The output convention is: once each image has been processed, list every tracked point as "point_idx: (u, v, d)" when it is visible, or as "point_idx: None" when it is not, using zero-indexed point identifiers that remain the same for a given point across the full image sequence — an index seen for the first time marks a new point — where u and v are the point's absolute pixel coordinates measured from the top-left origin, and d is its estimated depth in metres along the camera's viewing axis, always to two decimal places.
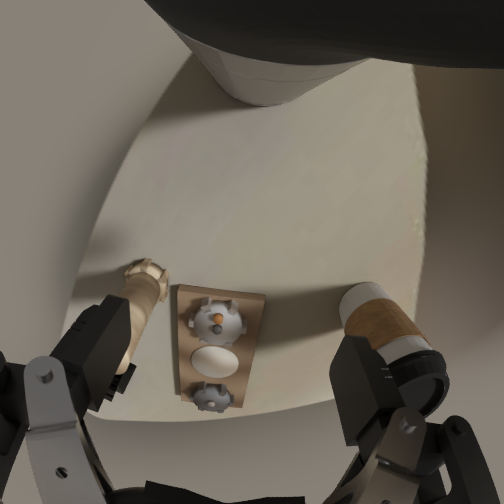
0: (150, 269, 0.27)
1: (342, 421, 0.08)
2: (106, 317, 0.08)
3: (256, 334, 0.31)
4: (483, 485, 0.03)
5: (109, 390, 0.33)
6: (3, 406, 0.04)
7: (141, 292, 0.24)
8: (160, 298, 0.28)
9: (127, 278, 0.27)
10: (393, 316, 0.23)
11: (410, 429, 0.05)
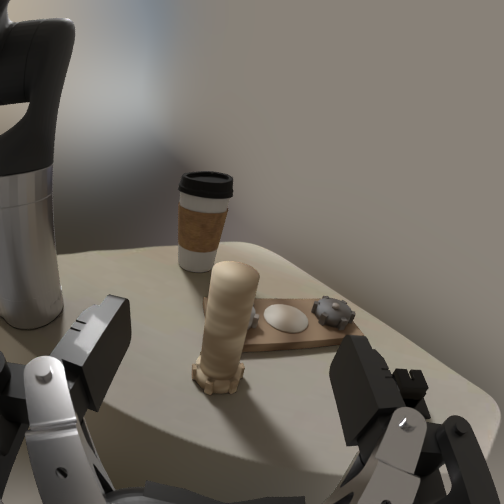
0: (196, 362, 0.26)
1: (342, 421, 0.08)
2: (106, 317, 0.08)
3: None
4: (483, 485, 0.03)
5: (401, 374, 0.24)
6: (3, 406, 0.04)
7: None
8: None
9: (214, 382, 0.24)
10: (178, 223, 0.43)
11: (410, 429, 0.05)
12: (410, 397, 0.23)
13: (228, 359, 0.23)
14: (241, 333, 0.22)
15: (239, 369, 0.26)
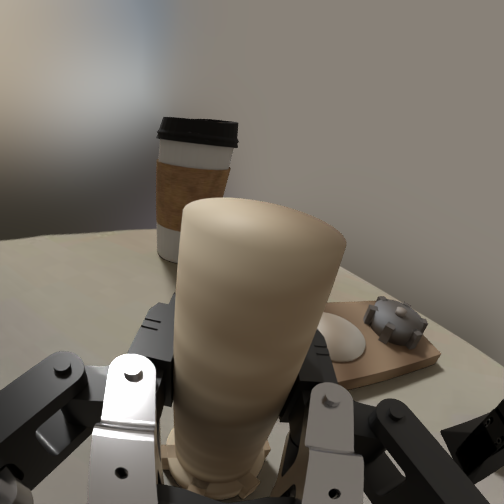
0: (167, 440, 0.10)
1: None
2: None
3: None
4: (441, 466, 0.04)
5: None
6: (68, 411, 0.05)
7: None
8: None
9: (207, 487, 0.08)
10: (156, 189, 0.27)
11: (330, 405, 0.06)
12: None
13: (238, 459, 0.08)
14: (278, 407, 0.07)
15: (260, 453, 0.10)
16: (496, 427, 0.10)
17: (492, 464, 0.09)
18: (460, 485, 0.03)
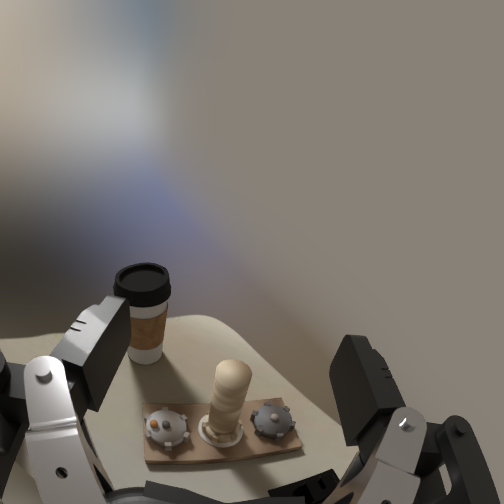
0: None
1: (342, 421, 0.08)
2: (106, 317, 0.08)
3: (176, 405, 0.33)
4: (483, 485, 0.03)
5: (310, 487, 0.22)
6: (3, 406, 0.04)
7: None
8: None
9: (219, 436, 0.29)
10: None
11: (410, 429, 0.05)
12: (325, 498, 0.22)
13: (229, 423, 0.28)
14: (239, 408, 0.27)
15: (238, 425, 0.31)
16: (302, 495, 0.22)
17: None
18: None
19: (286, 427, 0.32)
